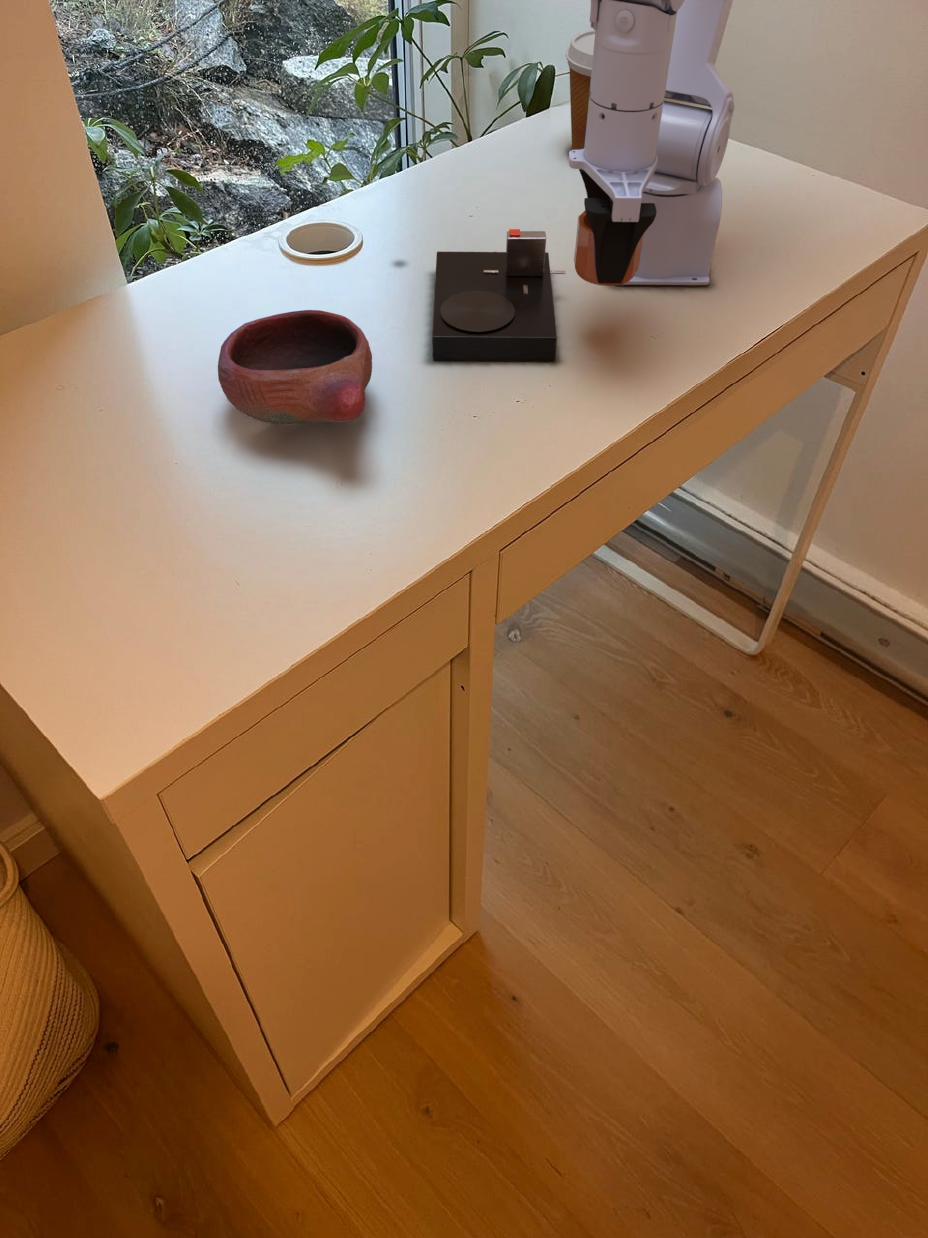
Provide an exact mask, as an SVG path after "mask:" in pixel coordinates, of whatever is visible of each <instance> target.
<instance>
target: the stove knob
mask: <svg viewBox="0 0 928 1238" xmlns="http://www.w3.org/2000/svg"><path fill="white" fill-rule="evenodd" d="M505 242H506V245H505V247H506V248H505V252H506V276H543V275H544V263H545V252H546V246H547V234H546V231H545V230H525V231H524V230H521V229H520V228H508V230H507V231H506V241H505Z"/></svg>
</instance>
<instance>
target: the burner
mask: <svg viewBox="0 0 928 1238" xmlns="http://www.w3.org/2000/svg"><path fill="white" fill-rule="evenodd" d="M440 315H441V318H442V319H443V321H444V322H445V323H446V324H447V325H449V326H450V327H452V328H454V329H457V330H460V331H463V332H469V333H487V332H493V331H496V330H499V329H502V328H504V327H505V326H507V325H508V324H509V323H511V321H512V320H513V318H514V316H515V308H514V306H513V304H512V303H511V302H510V301H509V300H508V299H507V298H505V297H503V296H501V295H499V294H496V293H492V292H487V291H467V292H462V293H458V294H455V295H453V296H451V297H449V298H448V299H446V300H445V301H444V302H443V304H442V305H441V308H440Z"/></svg>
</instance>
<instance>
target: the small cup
mask: <svg viewBox="0 0 928 1238" xmlns="http://www.w3.org/2000/svg"><path fill="white" fill-rule="evenodd" d="M643 235H644V234H643ZM642 242H643V236H642V237H641V239H640V241H639V243H638V245H637V247H636V249H635V251H634V254H633V256H632V259H631V261H630V264H629V267H628V270H627V272H626V275H625V277H624V279H623V281H622V283H620V284H611V283H598V281H597V276H596V269H595V247H594V235H593V231H592V228H591V226H590V223H589V221H588V218H587V215H586V212H585V210H584V211H582V213H580V214H579V215H578V217H577V227H576V237H575V246H574V247H575V248H574V258H573V262H574V269H575V272H576V274H577V276H578V277H579V278H580V279H582V280H583V281H585V282H587V283H589V284H593V285H596V286H601V287H602V286H603V287H615V286H620V285H622V284H624V283H626V282H628V281H630V280H631V279H632V278H633V277H634V275H635V273H636V272H637V271H638V269H639V262H640V255H641V249H642Z"/></svg>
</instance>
